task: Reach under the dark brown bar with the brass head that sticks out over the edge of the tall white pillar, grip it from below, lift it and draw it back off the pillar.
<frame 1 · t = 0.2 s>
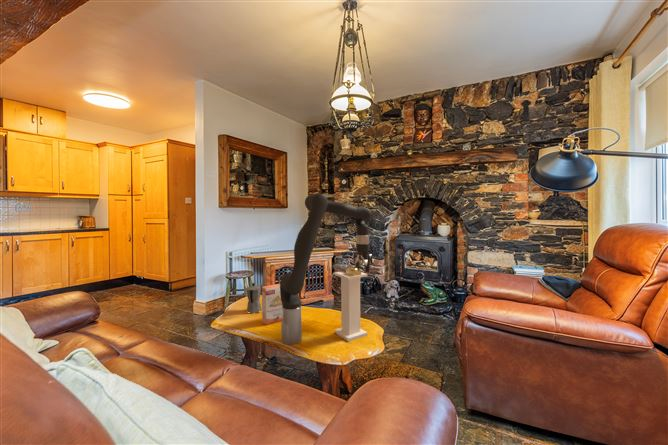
hand: (362, 270, 166), 29 cm above the table, tool pointing down, fingers open, 8 cm apart
white pillar: (350, 334, 150), on the table
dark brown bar: (346, 271, 151), point 32 cm above the table, touching white pillar
cracker box: (275, 321, 167), on the table
coffeepot: (253, 312, 181), on the table
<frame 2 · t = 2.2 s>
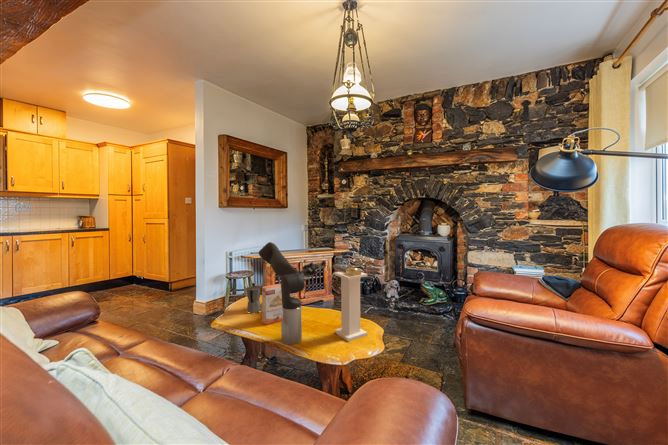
hand: (319, 262, 170), 33 cm above the table, tool pointing upward, fingers open, 8 cm apart
nothing on the table moved.
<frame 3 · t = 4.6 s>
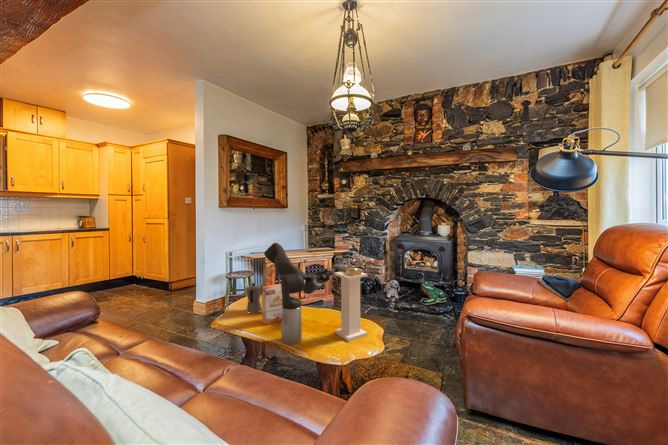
hand: (333, 268, 160), 31 cm above the table, tool pointing upward, fingers open, 8 cm apart
nothing on the table moved.
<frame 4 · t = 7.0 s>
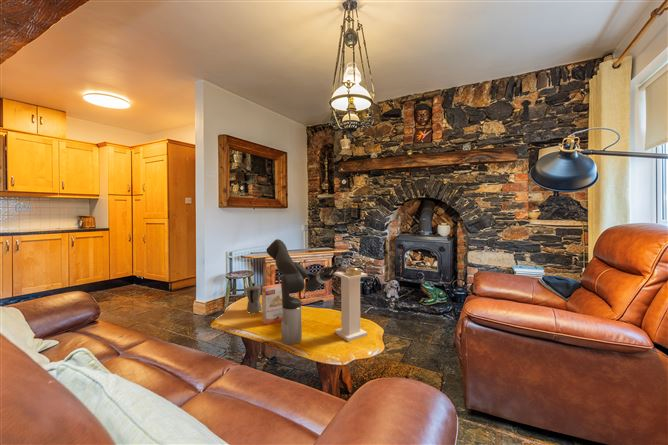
hand: (339, 265, 156), 34 cm above the table, tool pointing upward, fingers closed on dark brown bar, 2 cm apart
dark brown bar: (346, 271, 151), point 32 cm above the table, touching white pillar, gripper
everything else where it was.
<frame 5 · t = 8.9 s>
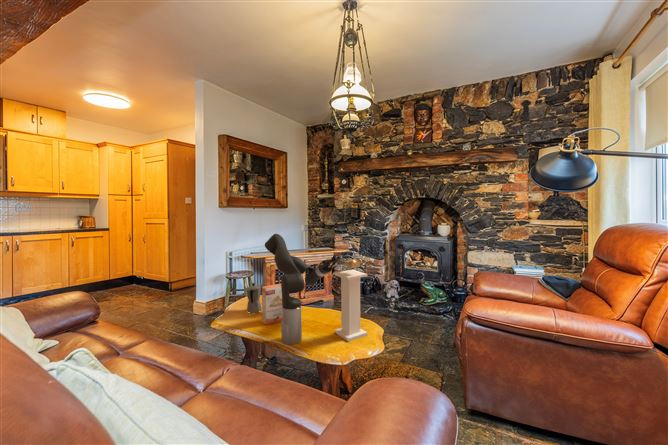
hand: (338, 257, 156), 38 cm above the table, tool pointing upward, fingers closed on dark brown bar
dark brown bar: (344, 264, 151), point 36 cm above the table, touching gripper
everything else where it was.
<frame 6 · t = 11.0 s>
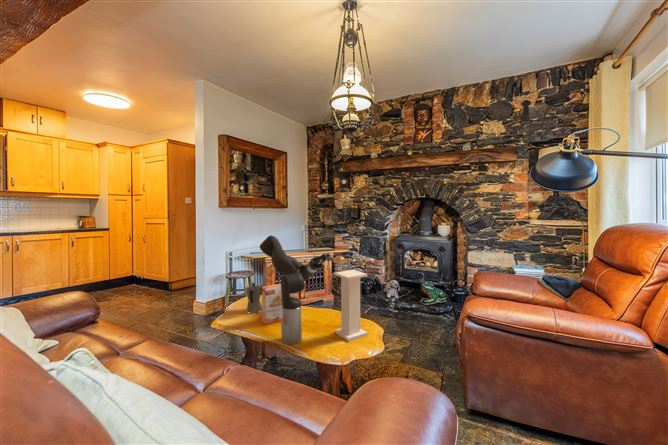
hand: (327, 254, 166), 38 cm above the table, tool pointing upward, fingers closed on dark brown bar
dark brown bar: (333, 260, 160), point 36 cm above the table, touching gripper
everything else where it was.
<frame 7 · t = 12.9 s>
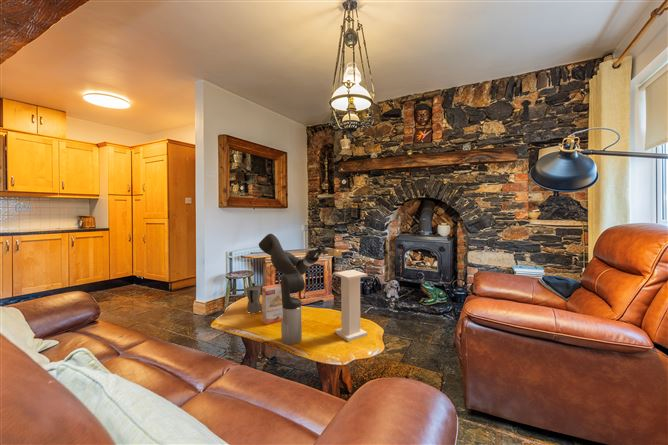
hand: (322, 248, 170), 41 cm above the table, tool pointing upward, fingers closed on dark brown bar
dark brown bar: (328, 253, 164), point 39 cm above the table, touching gripper
everything else where it was.
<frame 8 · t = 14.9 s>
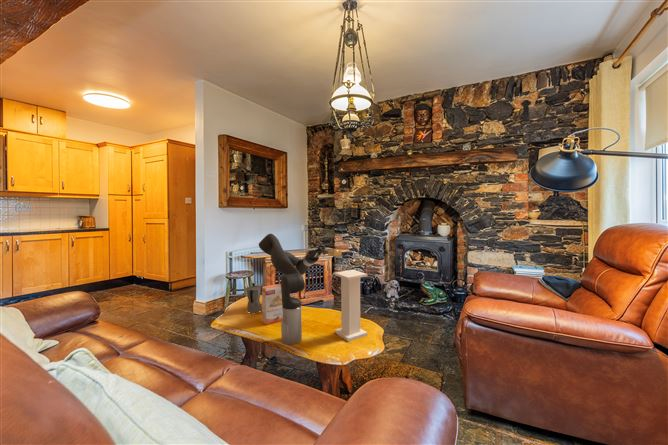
hand: (322, 248, 170), 41 cm above the table, tool pointing upward, fingers closed on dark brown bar
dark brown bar: (328, 253, 164), point 39 cm above the table, touching gripper
everything else where it was.
at the end: the gripper is holding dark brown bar; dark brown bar moved 18.4 cm from its start; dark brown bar touching gripper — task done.
